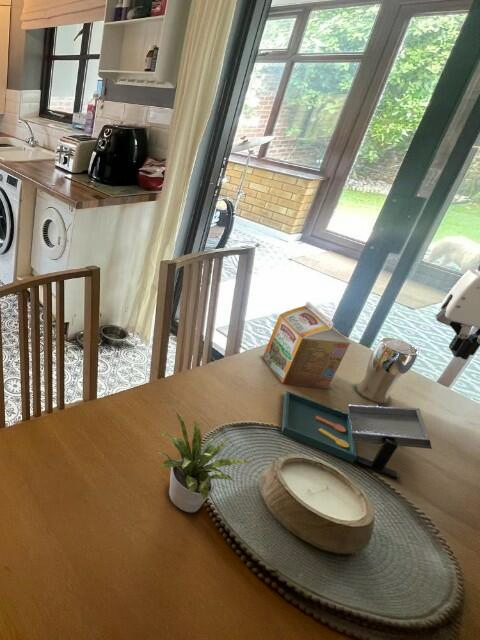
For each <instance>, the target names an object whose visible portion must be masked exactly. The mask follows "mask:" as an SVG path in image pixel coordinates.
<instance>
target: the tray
mask: <svg viewBox="0 0 480 640" xmlns="http://www.w3.org/2000/svg"><path fill="white" fill-rule="evenodd" d="M282 407H283V409H282V423H281V435H282V434H283V435H285V436H287V437H290V438H292V439H295V440H297V441H299V442H302V443H303V444H306V445H309V446H312V447H314V448H316V449H318V450H321V451H324V452H326V453H329V454H331V455H333V456H336V457H338V458H340V459H343V460H345V461H348V462H350V463H352V464H353V463H355V462H356V457H357V456H358V455H357V447H356V441H353V437H352V433H351V431H352V427H351V420H350V412H346V411H343V410H340V409H338V408H335V407H332V406H330V405H326V404H324V403H321V402H318V401H316V400H313V399H310V398H308V397H305V396H302V395H299V394H296V393H294V392H291V391H288V390H286V392H285V394H284V396H283V405H282ZM316 416H319V417H321V418H323V419H325V420H327V421H330V422H332V423H334V424H339V425H341V426H343V427H344V428H345V429H346V432H345V433H341V432H338V431H337V430H335V429H334V428H333V427H331V426H329V425H327V424H324V423H322V422H320V421H318V420H316V419H315V418H316ZM320 428H322V429H323V430H325V431H327V432H328V433H330V434H332V435H333V436H335V437H337V438H338V439H342V440H344V441H346V442H347V443H348V444H349V448H342V447H340V446H339V445H337V443H336V442H335V441H333V440H332V439H330V438H328V437H327V436H325V435H324V434H322V433H320V432H319V431H318V430H319V429H320Z"/></svg>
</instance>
